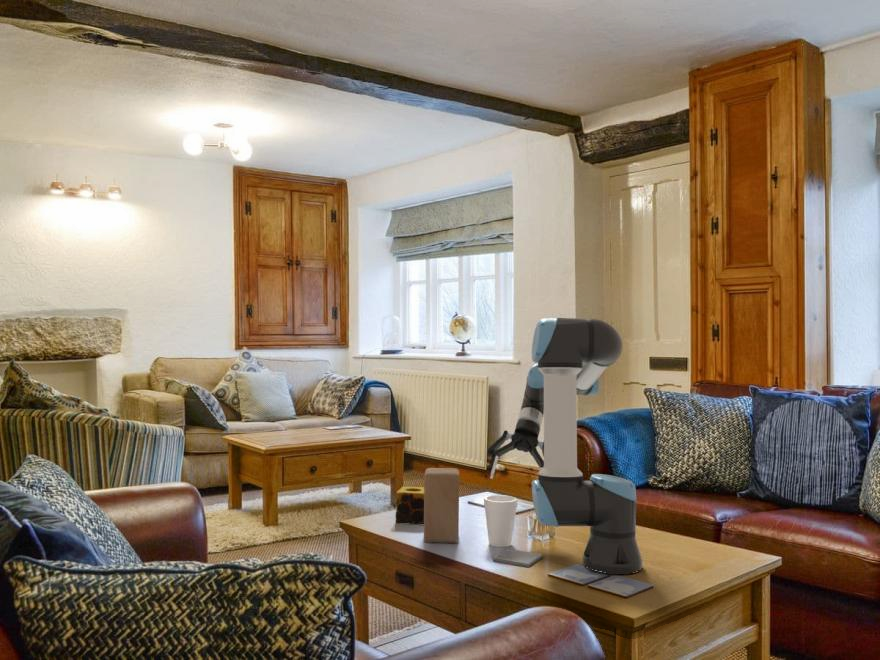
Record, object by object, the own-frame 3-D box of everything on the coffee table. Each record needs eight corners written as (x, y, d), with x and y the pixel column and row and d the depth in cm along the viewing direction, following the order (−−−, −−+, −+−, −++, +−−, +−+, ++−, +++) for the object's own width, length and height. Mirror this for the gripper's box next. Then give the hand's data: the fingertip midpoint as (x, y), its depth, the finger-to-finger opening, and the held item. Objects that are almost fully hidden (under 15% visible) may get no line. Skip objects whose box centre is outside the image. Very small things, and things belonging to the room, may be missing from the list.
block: (458, 543, 221) (459, 474, 221) (423, 543, 221) (424, 473, 221) (458, 534, 231) (459, 467, 231) (424, 534, 231) (425, 467, 231)
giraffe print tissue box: (426, 525, 241) (426, 493, 241) (394, 523, 243) (395, 492, 243) (432, 517, 251) (432, 487, 251) (402, 516, 253) (402, 485, 253)
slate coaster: (542, 557, 209) (542, 554, 209) (528, 567, 200) (528, 563, 200) (508, 551, 214) (508, 548, 214) (493, 561, 205) (493, 558, 205)
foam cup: (482, 547, 217) (483, 501, 217) (484, 538, 226) (485, 494, 226) (516, 549, 216) (517, 502, 216) (517, 540, 225) (517, 495, 225)
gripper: (566, 442, 243) (553, 499, 229) (489, 422, 247) (472, 477, 233) (569, 428, 237) (557, 486, 223) (490, 408, 241) (474, 464, 227)
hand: (514, 482), depth 228 cm, fingers open, 13 cm apart
